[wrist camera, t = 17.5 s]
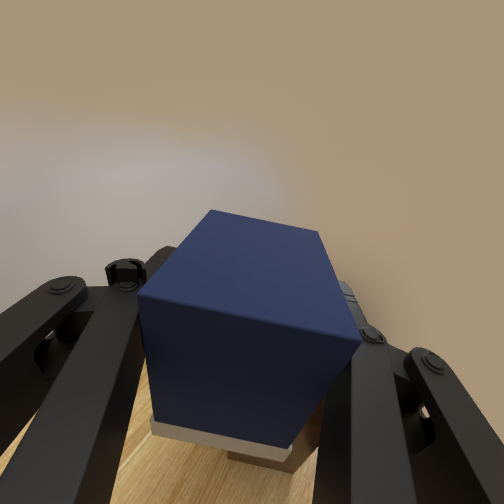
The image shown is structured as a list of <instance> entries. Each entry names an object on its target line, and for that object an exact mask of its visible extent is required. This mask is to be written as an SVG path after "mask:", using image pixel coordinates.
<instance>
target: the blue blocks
mask: <svg viewBox="0 0 504 504" xmlns="http://www.w3.org/2000/svg"><path fill="white" fill-rule="evenodd" d="M137 301H138V308H139V315H140V322H141V329H142V337H143V344H144V351H145V358H146V365H147V372H148V379H149V387H150V394H151V401H152V408H153V414H152V416H151V419H150V425H151V431H152V434H153V435H157V436H161V437H166V438H171V439H176V440H180V441H185V442H190V443H194V444H199V445H204V446H209V447H213V448H218V449H223V450H227V451H232V452H237V453H242V454H246V455H251V456H256V457H260V458H265V459H270V460H275V461H279V462H284V461H285V460H286V458H287V457H288V456H289V454H290V453H291V452H292V442H293V441H294V440H295V438H296V437H297V435H298V434H299V432H300V431H301V430H302V428H303V427H304V425H305V424H306V422H307V421H308V419H309V418H310V417H311V415H312V414H313V412H314V411H315V409H316V408H317V407H318V405H319V404H320V402H321V401H322V399H323V398H324V396H325V395H326V394H327V392H328V391H329V389H330V388H331V386H332V385H333V384H334V382H335V381H336V379H337V378H338V376H339V375H340V373H341V372H342V371H343V369H344V368H345V366H346V365H347V363H348V362H349V360H350V359H351V358H352V356H353V355H354V353H355V352H356V350H357V349H358V348H359V346H360V345H361V343H362V337H361V335H360V332H359V330H358V328H357V325H356V323H355V320H354V318H353V315H352V313H351V311H350V308H349V306H348V303H347V301H346V299H345V296H344V294H343V291H342V289H341V287H340V284H339V282H338V279H337V277H336V275H335V272H334V270H333V267H332V265H331V262H330V260H329V258H328V255H327V253H326V250H325V248H324V246H323V243H322V241H321V239H320V236H319V233H318V232H317V231H313V230H308V229H303V228H299V227H294V226H289V225H283V224H279V223H274V222H269V221H265V220H260V219H255V218H250V217H245V216H240V215H235V214H231V213H226V212H221V211H216V210H210V211H209V212H208V214H207V215H206V216H205V217H204V218H203V219H202V220H201V221H200V222H199V224H198V225H197V226H196V227H195V228H194V229H193V230H192V232H191V233H190V234H189V235H188V236H187V237H186V238H185V239H184V241H183V242H182V243H181V244H180V245H179V246H178V247H177V248H176V250H175V251H174V252H173V253H172V254H171V255H170V256H169V257H168V259H167V260H166V261H165V262H164V263H163V264H162V265H161V267H160V268H159V269H158V270H157V271H156V272H155V273H154V274H153V276H152V277H151V278H150V279H149V280H148V281H147V282H146V283H145V285H144V286H143V287H142V288H141V289H140V290H139V291H138V293H137Z"/></svg>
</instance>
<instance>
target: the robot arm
mask: <svg viewBox="0 0 504 504" xmlns="http://www.w3.org/2000/svg"><path fill="white" fill-rule="evenodd" d="M175 250H176V248H175V247H170V246H166V247H164V248H162V249H159V250H158V251H157V252H156V253H155V254H154V255H153V256H152V257H151V258H150V259H149V261H147V262H146V263H145V264H144V263H143V261H140V260H138V259H131V258H129V259H121V260H117V261H114V262H112V263H110V264H108V265H107V266H106V267H105V271H106V275H107V280H108V284H109V286H95V287H87V286H86V283H85V281H84V280H83V279H82V278H80V277H77V276H65V277H59V278H56V279H53V280H50V281H48V282H46V283H44V284H43V285H41V286H40V287H38V288H37V289H36V290H34V291H33V292H31V293H30V294H28V295H27V296H26V297H24V298H23V299H21V300H20V301H18V302H17V303H16V304H14V305H13V306H11V307H10V308H8V309H7V310H5V311H4V312H3V313H1V314H0V457H1V455H2V454H3V453H4V452H5V450H6V449H7V448H8V447H9V445H10V444H11V443H12V442H13V440H14V439H15V438H16V437H17V435H18V434H19V433H20V432H21V430H22V429H23V428H24V427H25V425H26V424H27V423H28V422H29V420H30V419H31V418H32V417H33V415H34V414H35V413H36V412H37V413H36V415H35V417H34V418H33V420H32V422H31V424H30V426H29V427H28V429H27V431H26V433H25V434H24V436H23V438H22V440H21V441H20V443H19V445H18V447H17V448H16V450H15V452H14V454H13V456H12V457H11V459H10V461H9V463H8V464H7V466H6V468H5V470H4V471H3V473H2V475H1V477H0V504H110V499H111V495H112V491H113V487H114V483H115V479H116V475H117V471H118V467H119V462H120V458H121V454H122V450H123V446H124V442H125V438H126V434H127V430H128V426H129V421H130V417H131V413H132V409H133V405H134V401H135V397H136V393H137V389H138V384H139V380H140V376H141V372H142V368H143V364H144V360H145V351H144V344H143V337H142V329H141V322H140V315H139V308H138V301H137V293H138V291H139V290H140V289H141V288H142V287H143V286H144V285H145V283H146V282H147V281H148V280H149V279H150V278H151V277H152V276H153V274H154V273H155V272H156V271H157V270H158V269H159V268H160V267H161V265H162V264H163V263H164V262H165V261H166V260H167V259H168V257H169V256H170V255H171V254H172V253H173V252H174V251H175ZM338 282H339V284H340V287H341V289H342V291H343V294H344V296H345V299H346V301H347V303H348V306H349V308H350V311H351V313H352V315H353V318H354V320H355V323H356V325H357V328H358V330H359V332H360V335H361V337H362V343H361V345H360V346H359V348H358V349H357V350H356V352H355V353H354V355H353V356H352V358H351V359H350V360H349V362H348V363H347V365H346V366H345V368H344V369H343V371H342V372H341V373H340V375H339V376H338V378H337V379H336V381H335V382H334V384H333V385H332V386H331V388H330V389H329V391H328V392H327V394H326V395H325V396H324V402H323V411H322V420H321V429H320V438H319V447H318V456H317V464H316V473H315V482H314V491H313V500H312V504H504V445H503V443H502V442H501V440H500V439H499V437H498V436H497V434H496V433H495V432H494V430H493V429H492V427H491V426H490V424H489V423H488V421H487V420H486V418H485V417H484V415H483V414H482V413H481V411H480V410H479V408H478V407H477V405H476V404H475V403H474V401H473V399H472V398H471V397H470V395H469V394H468V392H467V391H466V389H465V388H464V386H463V385H462V383H461V382H460V381H459V379H458V378H457V376H456V375H455V373H454V372H453V370H452V369H451V368H450V367H449V365H448V364H447V363H446V362H445V361H444V360H443V359H441V358H440V357H439V356H438V355H436V354H435V353H433V352H431V351H430V350H427V349H424V348H421V347H420V348H419V347H415V348H413V349H412V350H411V351H410V352H409V353H407V352H404V351H402V350H400V349H398V348H396V347H393V346H391V345H389V344H388V343H387V341H386V338H385V337H384V336H383V334H382V333H381V332H380V331H379V330H377V329H376V328H375V327H373V326H371V325H369V324H368V323H367V321H366V319H365V316H364V315H363V312H362V310H361V308H360V306H359V304H358V303H357V300H356V298H355V296H354V294H353V291H352V289H351V288H350V287H349V286H348V285H347V284H346V283H345V282H342V281H338ZM52 331H53V332H52ZM50 332H52V334H50ZM48 334H50V335H49V336H48V337H46V336H47V335H48ZM45 337H46V338H45ZM424 406H425V407H426V409H427V411H428V413H429V416H430V417H428V418H426V417H425V415H424V414H423V412H422V408H423V407H424ZM38 409H39V410H38Z"/></svg>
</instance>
